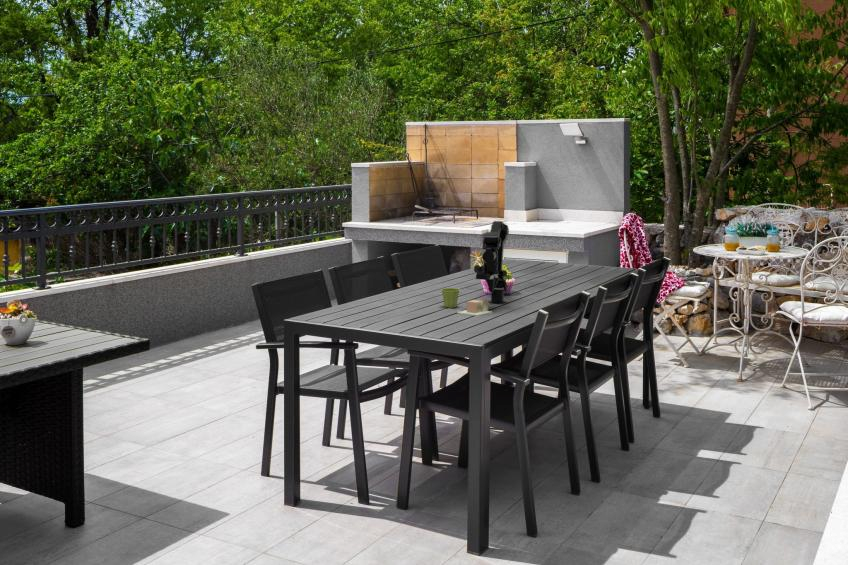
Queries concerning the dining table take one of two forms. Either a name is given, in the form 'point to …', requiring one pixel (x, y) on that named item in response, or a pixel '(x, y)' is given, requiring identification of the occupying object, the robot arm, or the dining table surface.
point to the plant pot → (450, 297)
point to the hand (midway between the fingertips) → (491, 292)
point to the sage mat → (474, 313)
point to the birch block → (477, 305)
